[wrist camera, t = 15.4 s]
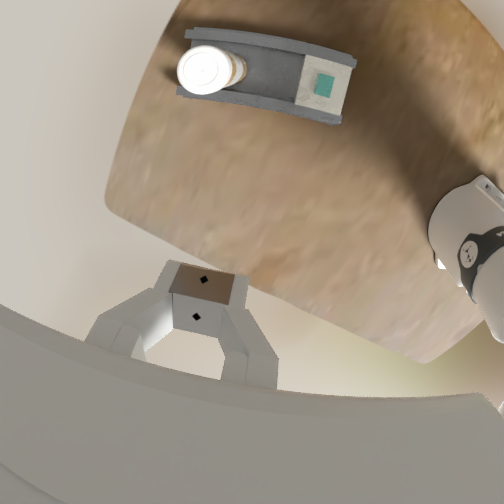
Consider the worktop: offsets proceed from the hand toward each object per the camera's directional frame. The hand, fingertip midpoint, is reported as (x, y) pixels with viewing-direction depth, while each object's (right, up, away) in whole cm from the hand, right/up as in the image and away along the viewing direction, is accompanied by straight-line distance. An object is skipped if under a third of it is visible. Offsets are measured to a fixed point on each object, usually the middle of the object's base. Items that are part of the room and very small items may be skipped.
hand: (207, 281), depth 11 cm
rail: (+3, +24, +21) cm, 32 cm away
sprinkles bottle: (-1, +24, +21) cm, 31 cm away
